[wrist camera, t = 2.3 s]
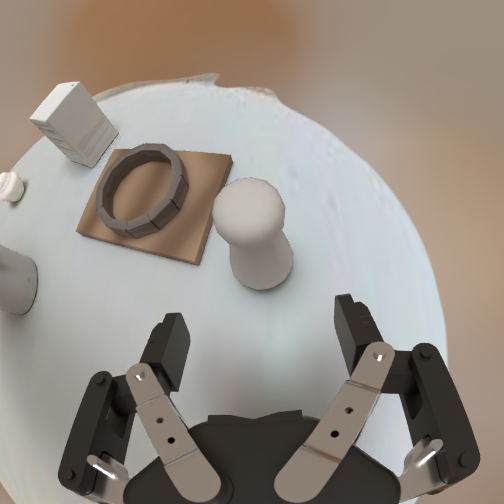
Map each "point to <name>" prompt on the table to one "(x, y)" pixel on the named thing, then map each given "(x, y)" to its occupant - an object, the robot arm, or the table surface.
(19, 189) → the muffin
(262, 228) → the salt shaker
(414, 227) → the table surface
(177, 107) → the table surface
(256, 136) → the table surface
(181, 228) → the socket base
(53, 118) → the supplement box
